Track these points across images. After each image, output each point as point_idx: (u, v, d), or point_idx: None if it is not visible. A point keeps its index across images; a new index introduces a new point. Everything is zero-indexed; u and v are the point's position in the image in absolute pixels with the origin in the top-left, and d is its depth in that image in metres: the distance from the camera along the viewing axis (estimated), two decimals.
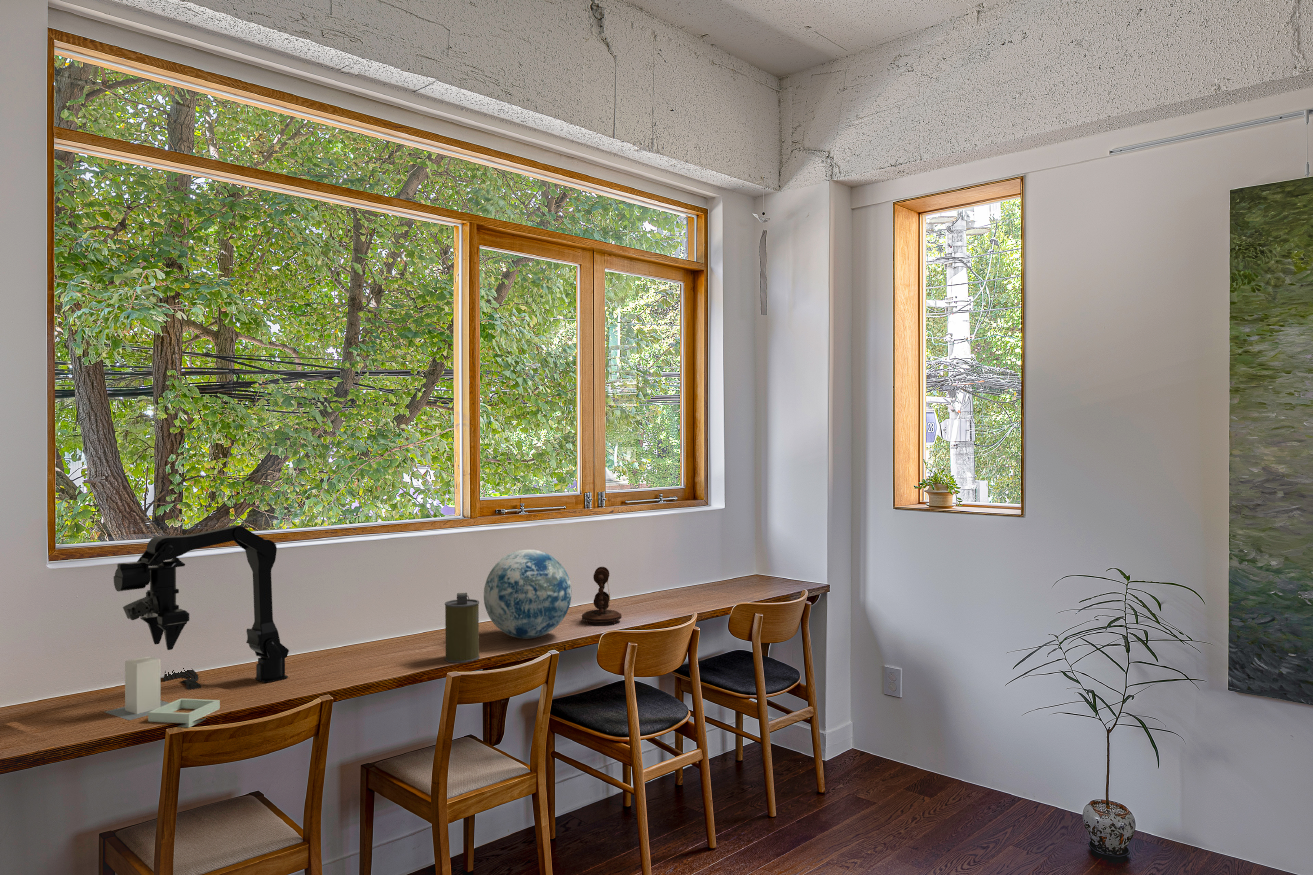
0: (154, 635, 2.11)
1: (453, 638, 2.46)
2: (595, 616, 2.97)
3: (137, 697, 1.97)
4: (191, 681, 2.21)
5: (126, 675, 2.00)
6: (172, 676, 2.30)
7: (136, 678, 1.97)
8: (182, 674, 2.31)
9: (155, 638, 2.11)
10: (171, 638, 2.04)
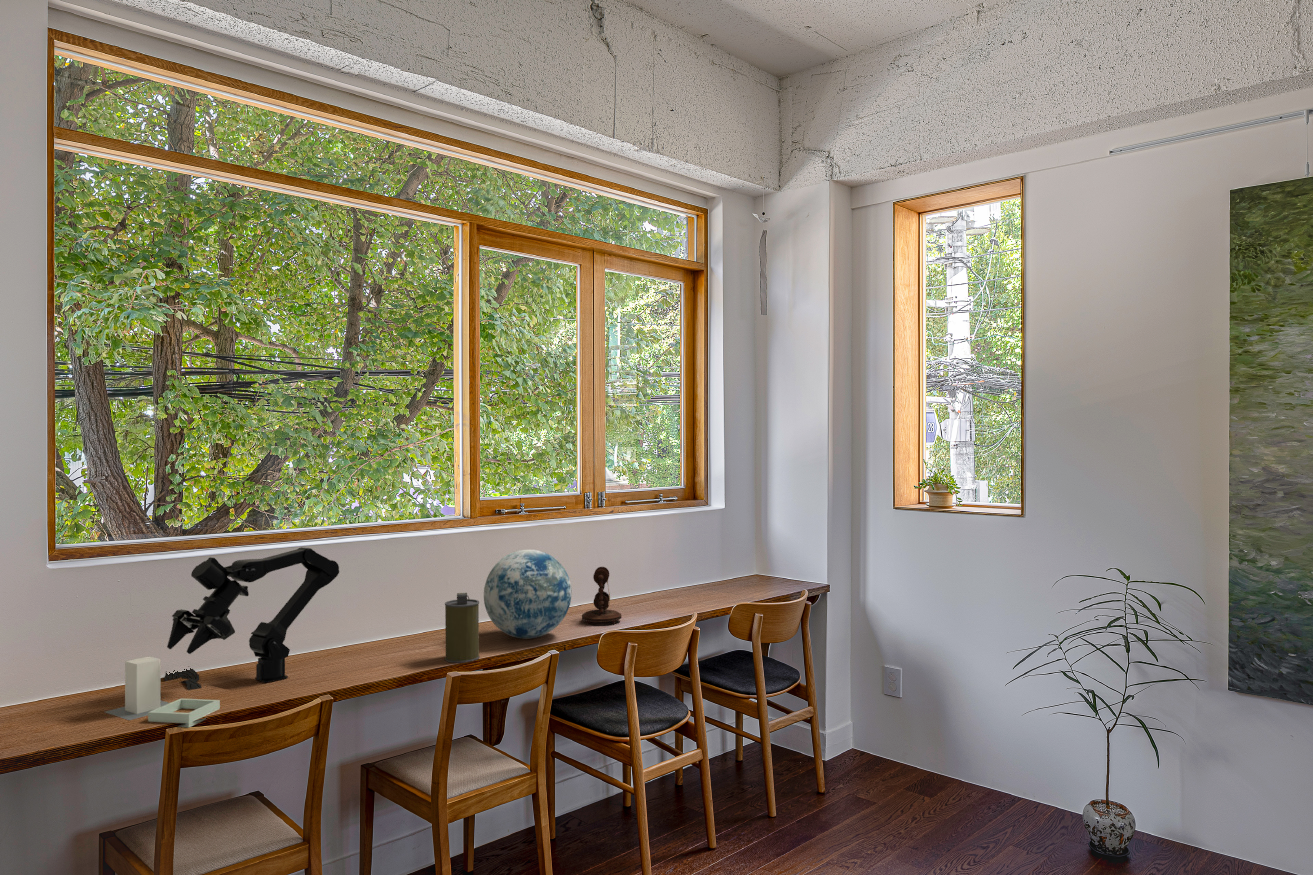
0: None
1: (453, 638, 2.46)
2: (595, 616, 2.97)
3: (137, 697, 1.97)
4: (191, 681, 2.21)
5: (126, 675, 2.00)
6: (173, 676, 2.29)
7: (136, 678, 1.97)
8: (183, 674, 2.31)
9: None
10: None
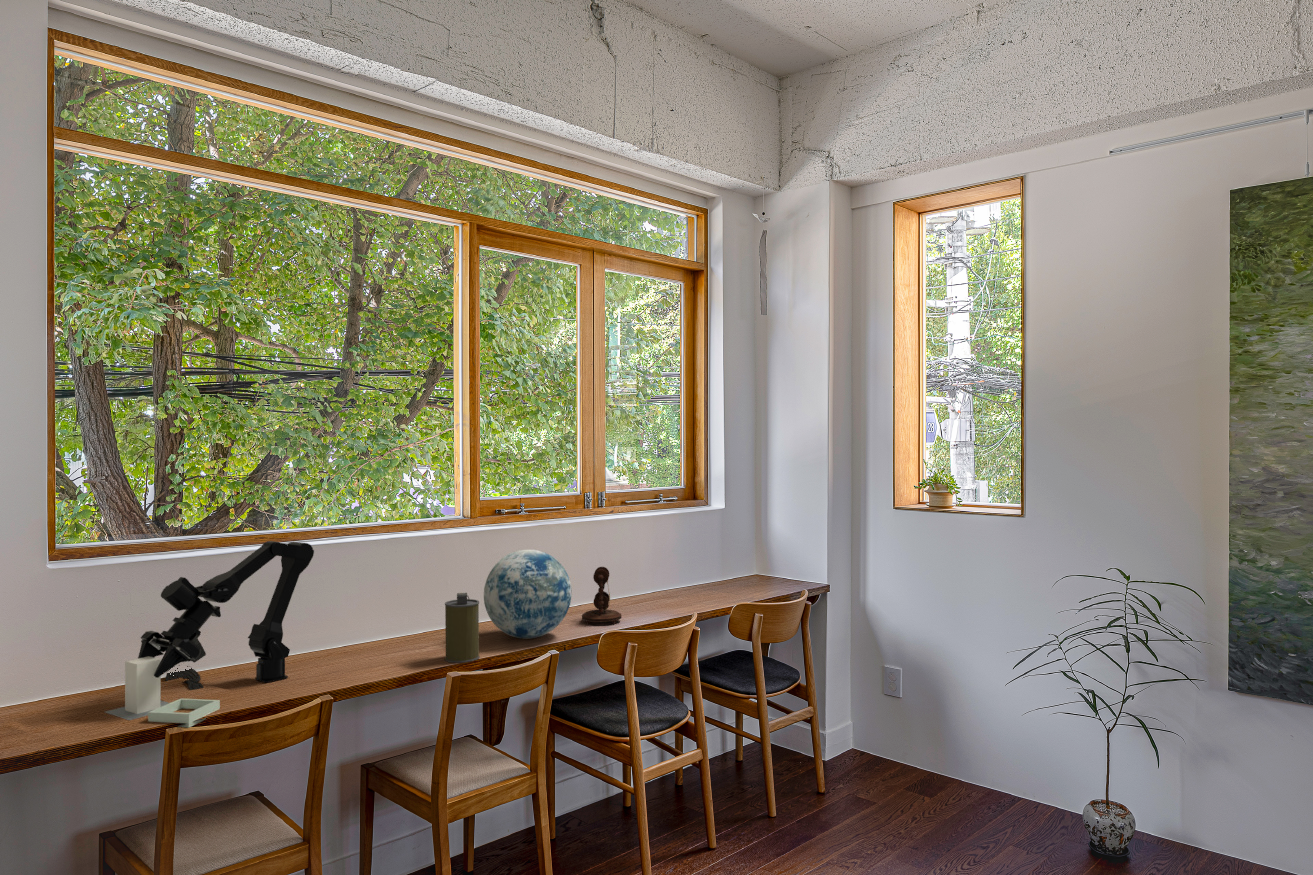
0: None
1: (453, 638, 2.46)
2: (595, 616, 2.97)
3: (137, 697, 1.97)
4: (193, 681, 2.21)
5: (126, 675, 2.00)
6: (174, 676, 2.29)
7: (136, 678, 1.97)
8: (184, 674, 2.31)
9: None
10: None
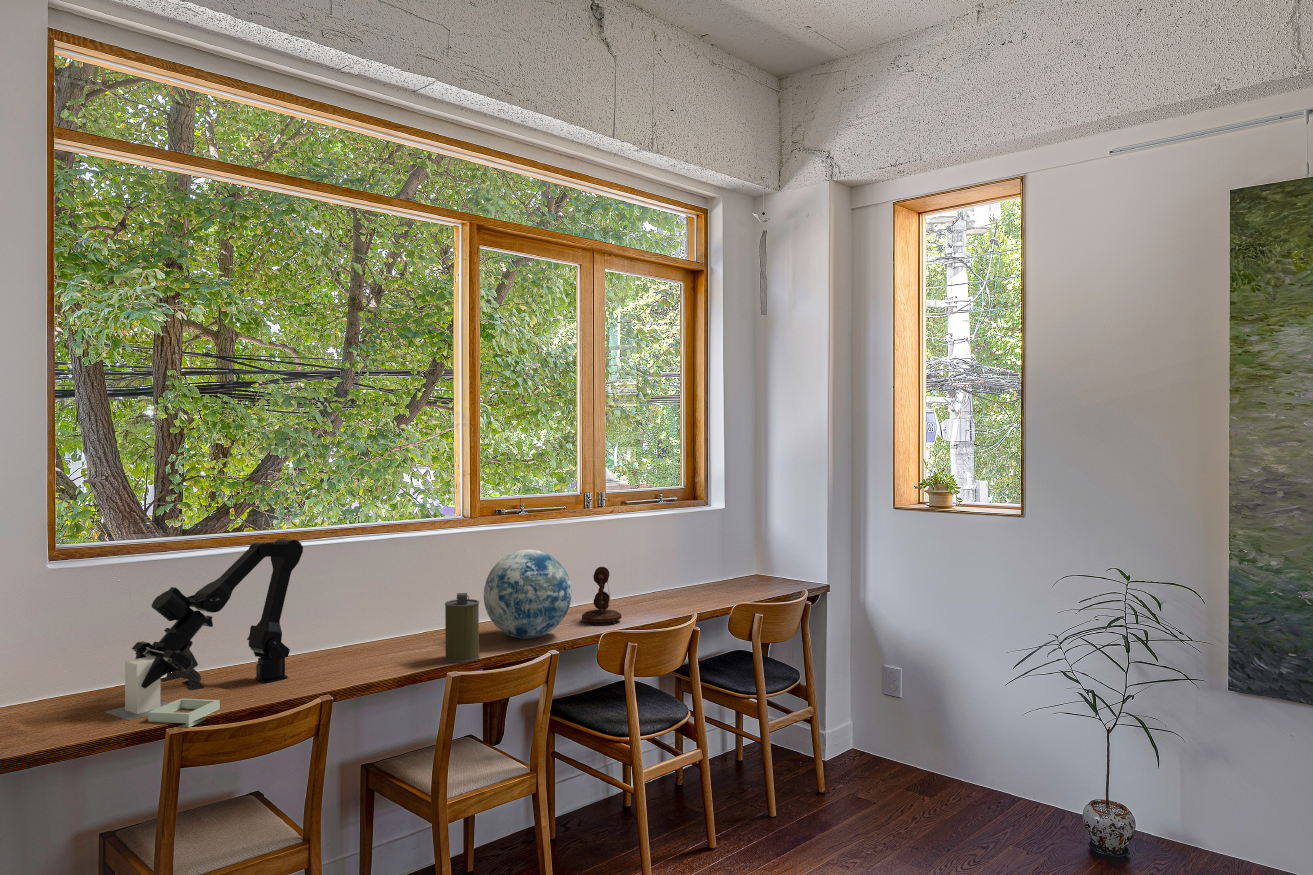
0: None
1: (453, 638, 2.46)
2: (595, 616, 2.97)
3: (137, 697, 1.97)
4: (194, 681, 2.21)
5: (126, 675, 2.00)
6: (174, 676, 2.29)
7: (136, 678, 1.97)
8: (184, 674, 2.31)
9: None
10: None
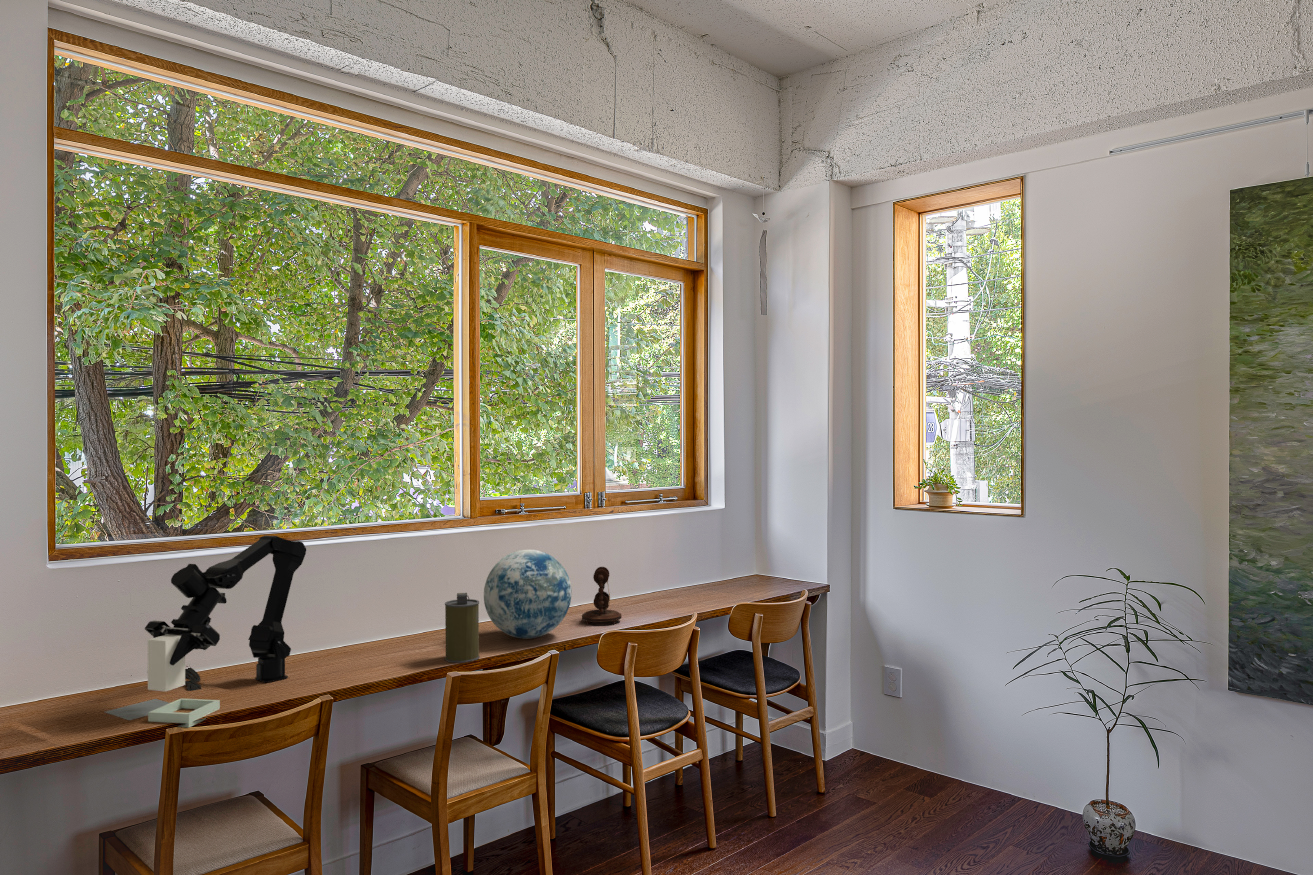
0: None
1: (453, 638, 2.46)
2: (595, 616, 2.97)
3: (166, 674, 1.94)
4: (192, 682, 2.20)
5: (149, 654, 1.95)
6: None
7: (164, 655, 1.94)
8: None
9: None
10: None
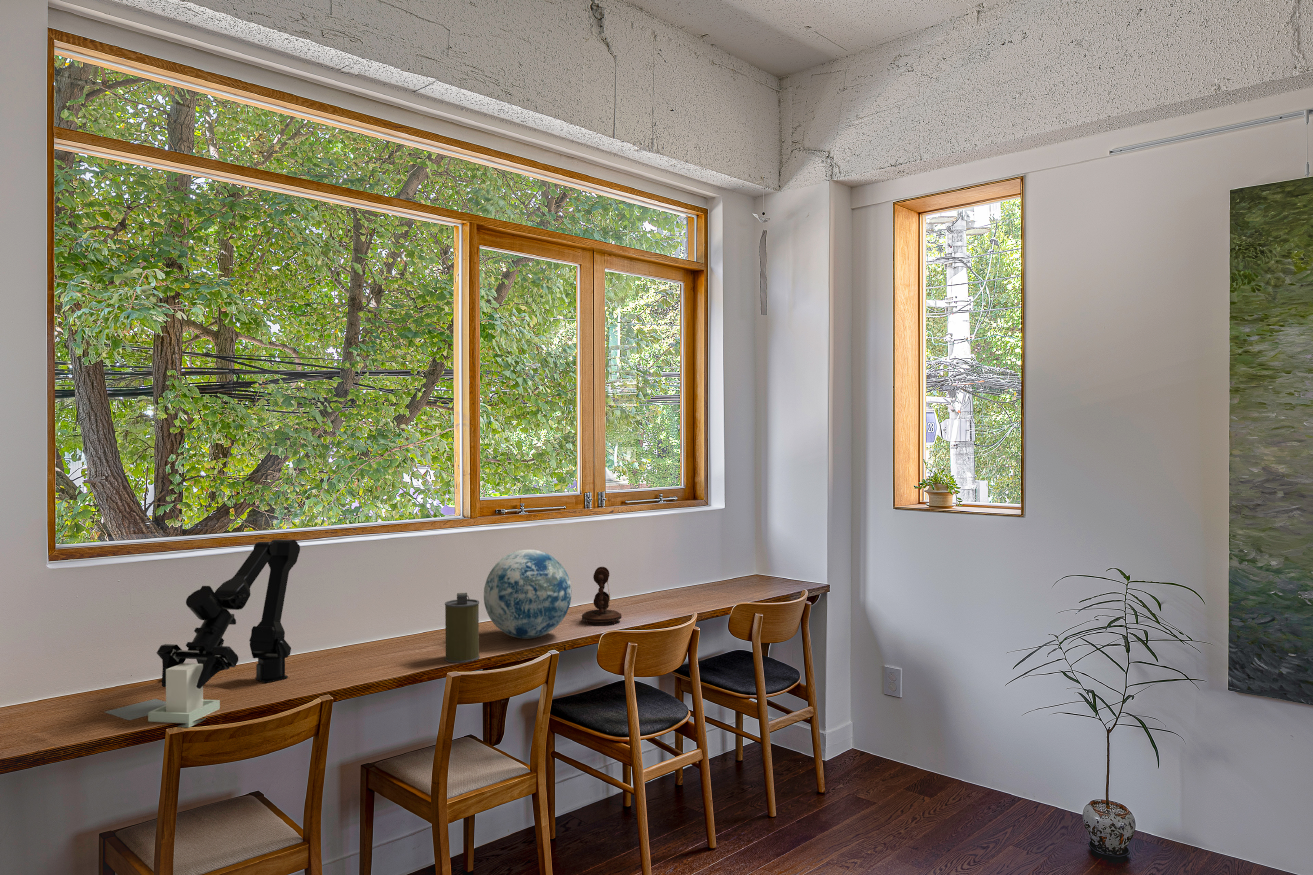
0: None
1: (453, 638, 2.46)
2: (595, 616, 2.97)
3: (187, 703, 1.93)
4: None
5: (167, 684, 1.94)
6: None
7: (185, 684, 1.93)
8: None
9: None
10: None
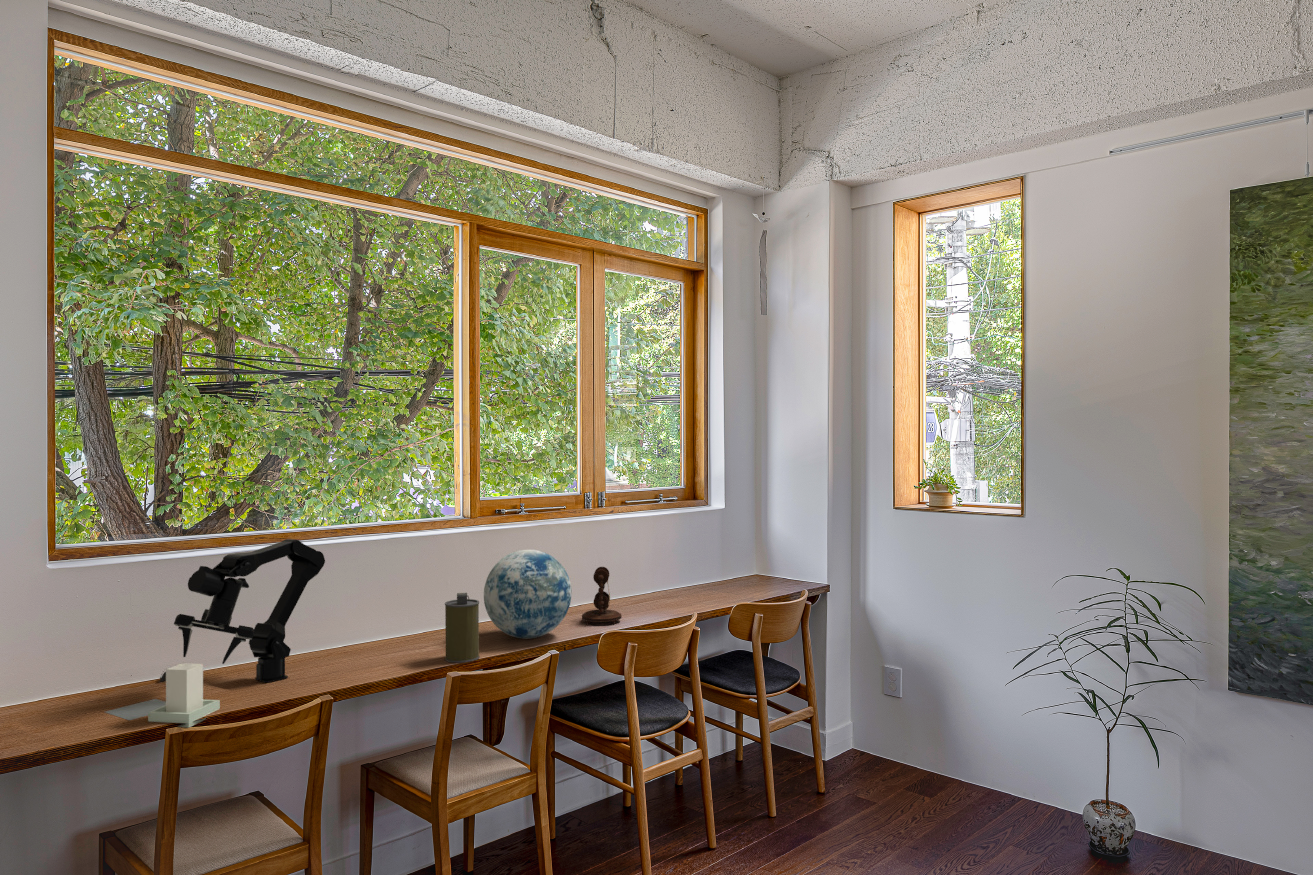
0: None
1: (453, 638, 2.46)
2: (595, 616, 2.97)
3: (187, 703, 1.93)
4: None
5: (167, 684, 1.94)
6: None
7: (185, 684, 1.93)
8: None
9: None
10: None
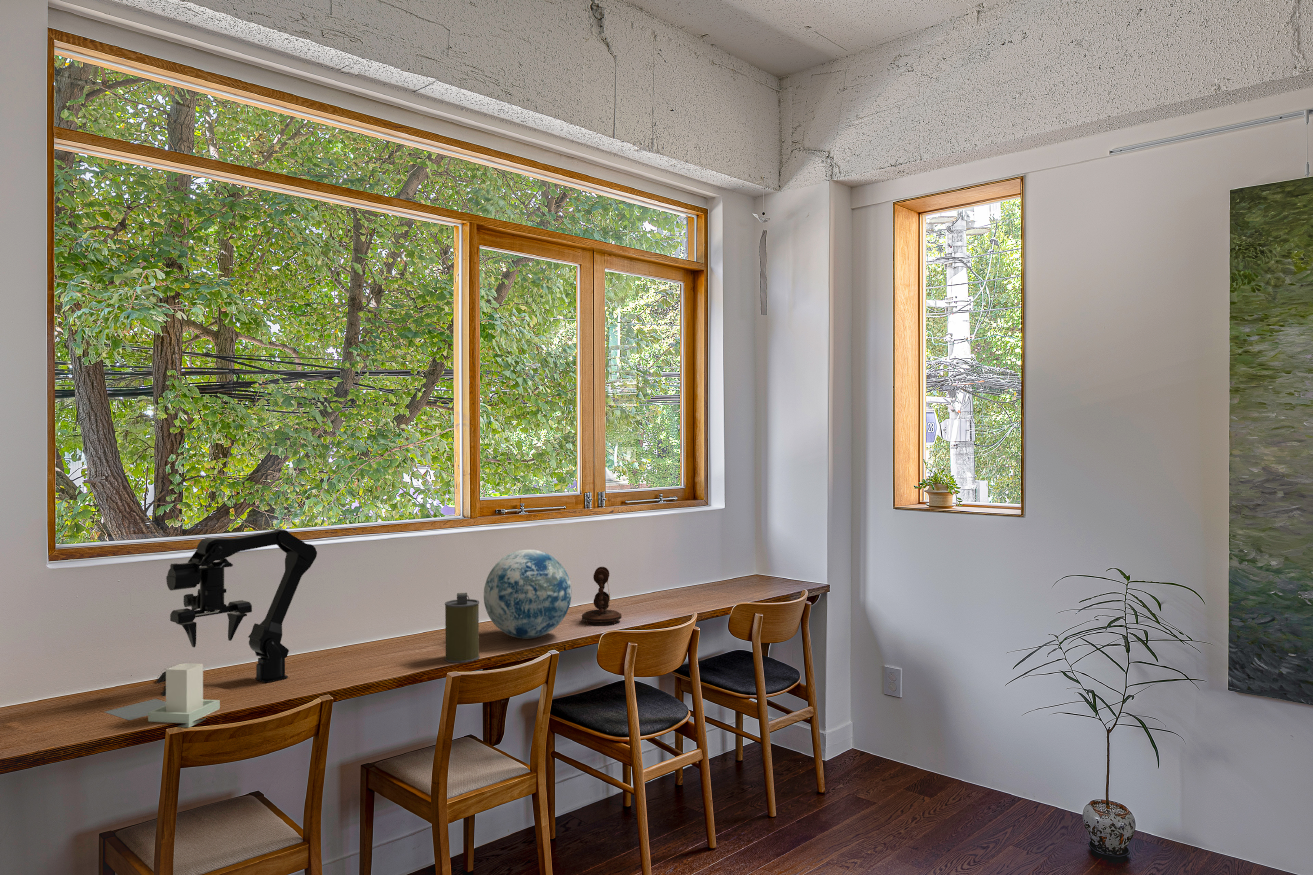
0: (228, 631, 2.21)
1: (453, 638, 2.46)
2: (595, 616, 2.97)
3: (187, 703, 1.93)
4: None
5: (167, 684, 1.94)
6: None
7: (185, 684, 1.93)
8: None
9: (229, 635, 2.21)
10: (190, 636, 2.13)
